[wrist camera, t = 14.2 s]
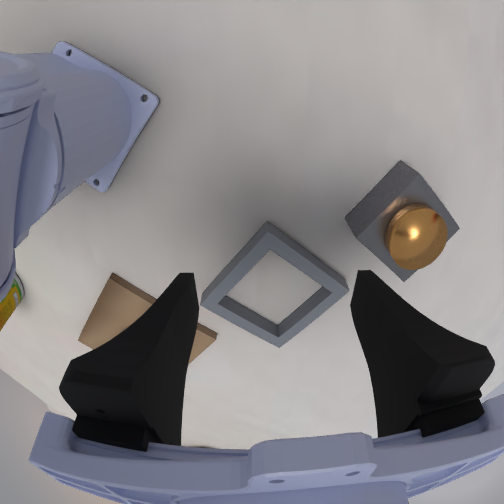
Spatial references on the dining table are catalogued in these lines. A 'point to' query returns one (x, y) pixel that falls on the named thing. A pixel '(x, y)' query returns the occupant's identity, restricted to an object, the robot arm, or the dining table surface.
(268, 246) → the collar
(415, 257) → the plunger
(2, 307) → the supplement bottle
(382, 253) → the plunger base
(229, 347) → the dining table surface
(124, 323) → the pad
